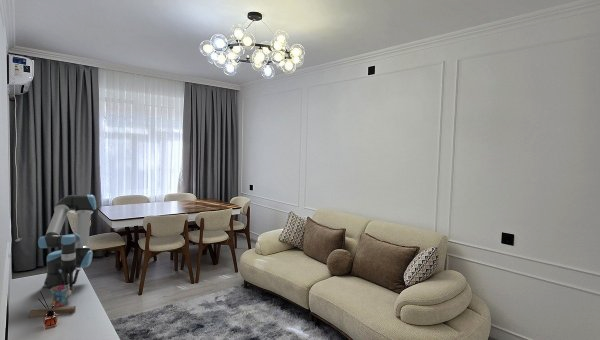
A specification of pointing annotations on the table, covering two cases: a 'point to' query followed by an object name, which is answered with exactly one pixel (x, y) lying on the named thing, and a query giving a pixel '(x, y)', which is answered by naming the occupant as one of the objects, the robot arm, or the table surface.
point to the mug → (60, 295)
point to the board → (57, 310)
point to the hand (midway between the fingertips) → (69, 294)
